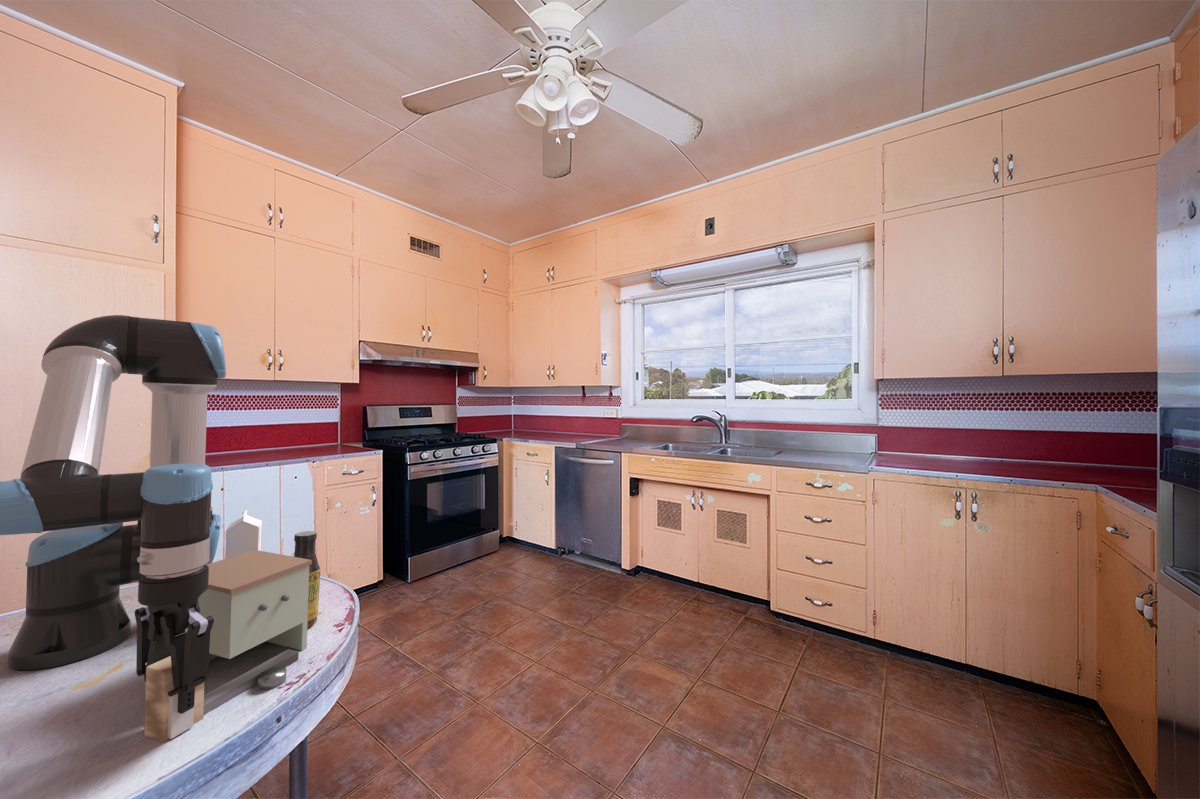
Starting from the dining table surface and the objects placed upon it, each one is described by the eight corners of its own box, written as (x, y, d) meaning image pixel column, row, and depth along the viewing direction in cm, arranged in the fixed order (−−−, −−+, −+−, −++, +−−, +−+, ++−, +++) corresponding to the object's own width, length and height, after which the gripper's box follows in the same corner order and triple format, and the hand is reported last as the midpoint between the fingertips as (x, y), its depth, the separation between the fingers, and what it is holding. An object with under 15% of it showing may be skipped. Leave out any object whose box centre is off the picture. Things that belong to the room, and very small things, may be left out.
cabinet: (165, 673, 78) (169, 575, 78) (252, 632, 92) (255, 549, 92) (229, 694, 73) (233, 590, 73) (311, 647, 87) (313, 560, 87)
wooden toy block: (144, 735, 64) (146, 666, 64) (285, 656, 84) (286, 603, 84) (162, 742, 63) (164, 672, 63) (301, 660, 83) (302, 607, 83)
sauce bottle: (300, 635, 92) (303, 539, 92) (275, 631, 93) (278, 536, 93) (325, 620, 98) (328, 530, 98) (302, 616, 99) (304, 528, 99)
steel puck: (251, 688, 75) (251, 677, 75) (274, 674, 79) (274, 664, 79) (268, 693, 74) (269, 682, 74) (291, 679, 78) (291, 669, 78)
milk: (223, 613, 99) (225, 516, 99) (228, 602, 105) (230, 510, 105) (257, 607, 103) (259, 513, 103) (260, 597, 108) (262, 507, 108)
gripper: (104, 570, 64) (99, 731, 64) (183, 588, 59) (177, 763, 59) (168, 554, 71) (163, 698, 71) (243, 568, 66) (238, 724, 66)
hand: (169, 727), depth 65 cm, fingers closed on wooden toy block, 4 cm apart
